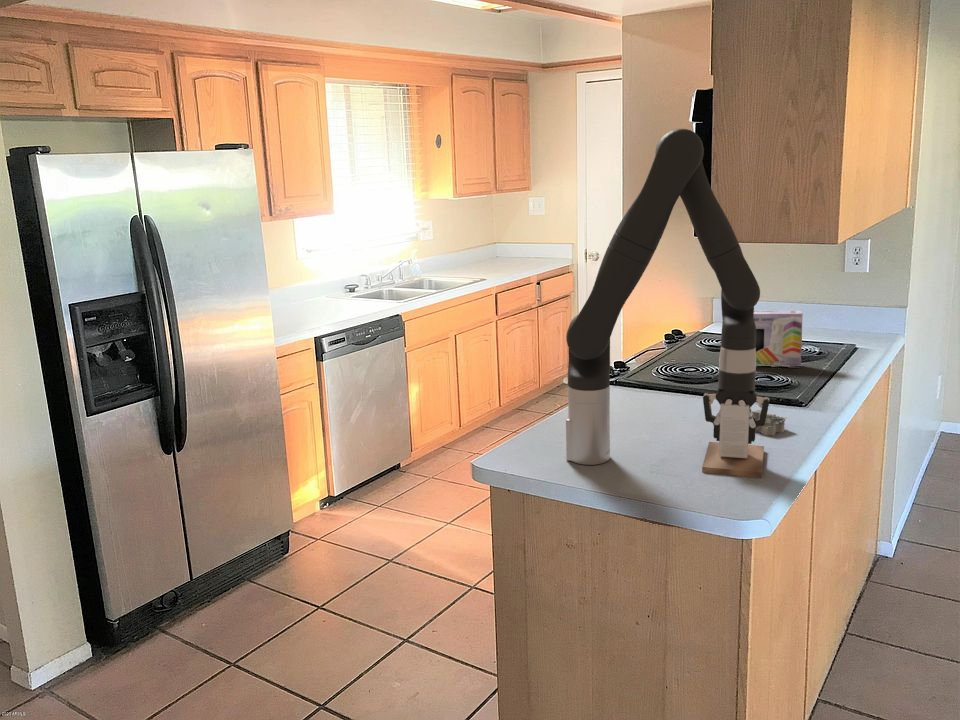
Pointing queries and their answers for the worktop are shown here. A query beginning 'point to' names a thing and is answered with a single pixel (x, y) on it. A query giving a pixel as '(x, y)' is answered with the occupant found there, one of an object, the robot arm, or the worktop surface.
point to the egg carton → (770, 423)
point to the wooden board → (734, 462)
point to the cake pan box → (778, 337)
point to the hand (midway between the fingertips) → (734, 441)
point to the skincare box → (734, 431)
